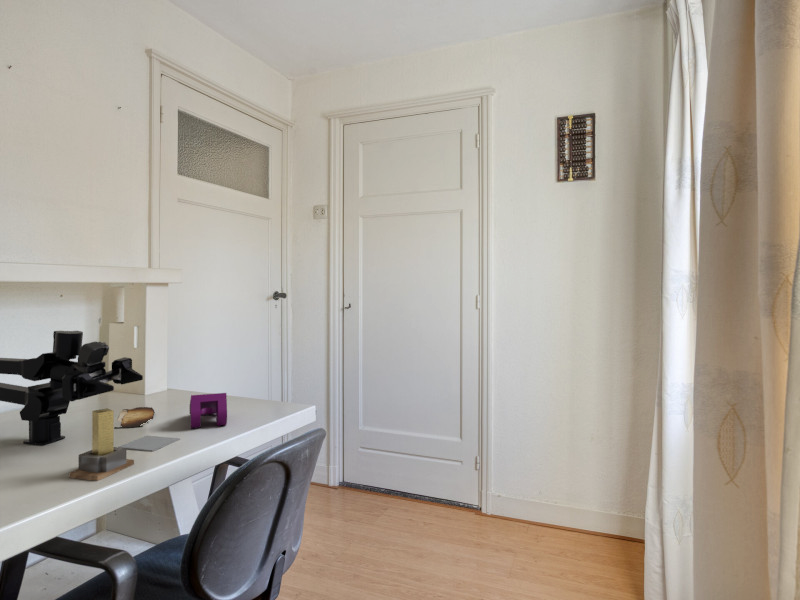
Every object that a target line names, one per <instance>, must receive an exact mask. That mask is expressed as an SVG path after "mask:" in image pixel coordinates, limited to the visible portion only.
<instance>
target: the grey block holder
mask: <svg viewBox="0 0 800 600" xmlns="http://www.w3.org/2000/svg"><path fill="white" fill-rule="evenodd" d="M118 447H119V446H118ZM118 447H116V446H113V452H112V453H110V454H107V455H105V456H98V455H92V449H91V450H88V451H86V452H83V453H80V454H78V469H75V470H73V471H71V472H69V473H68V474H69V475H68V476H69V478H70V479H78V480H79V479H80V480H86V481H87V480H89V481H97V482H98V481H101V480H102V479H105V478H107V477H109V476H111V475H114V474H115V473H116V474H117V472H118V473H119V471H123V470H125V469H126V468H128V467H131V466H133V465H135V459H132V458H131V459H130V458H127V449H123V448H118Z"/></svg>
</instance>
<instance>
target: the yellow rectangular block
mask: <svg viewBox="0 0 800 600" xmlns="http://www.w3.org/2000/svg"><path fill="white" fill-rule="evenodd" d="M91 414H92V415H91V416H92V417H91V419H92V420H91V422H92V423H91V425H92V426H91V427H92V430H91V433H92V435H91V436H92V438H91V441H92V442H91V443H92V444H91V446H92V447H91V450H92V455H98V456H105V455H107V454H110V453H112V452H113V447H114V432H115V431H114V429H115V428H114V425H115V424H114V417H115V416H114V410H113V409H110V408H101V409H96V410H92V413H91Z"/></svg>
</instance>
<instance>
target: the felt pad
mask: <svg viewBox="0 0 800 600" xmlns="http://www.w3.org/2000/svg"><path fill="white" fill-rule="evenodd" d="M180 440H181V438H178V437H169V436H157V435H144V436H142V437H140V438H137V439H134V440H132V441H129V442H127V443H125V444H121V445H119V446H118V448H123V449H125V450H132V451H133V450H135V451H142V450H143V451H144V452H152V451H153V452H155V451H158V450H160V449H163V448H164V447H167V446H169V445H171V444H173V443H175V442H178V441H180ZM159 448H160V449H159ZM157 449H158V450H157ZM143 451H142V452H143Z"/></svg>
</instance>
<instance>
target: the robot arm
mask: <svg viewBox="0 0 800 600" xmlns="http://www.w3.org/2000/svg"><path fill="white" fill-rule="evenodd" d="M52 335H53V344H52V346H53V347H52V352H45V353H42V354H40V355H39V356H37V357H33V358H16V357H15V358H14V357H0V375H1V374H2V375H16V376H17V375H18V376H21V377H22V379H25V380H28V381H32V382H38V381H43V380H49V379H50V380H49V382H45V383H41V384H40V383H39V384H35V385H30V386H22V385H17V384H11V383H4V382H0V402H5V403H10V404H15V405H16V404H17V405H21V406H23V408H22V409H21V410H20V411H19V415H20V419H21V421H25V422H26V421H27V422H28V439H24V440H23V441H22V442H23V444H26V445H27V444H29V445H38V446H45V445H48V444H50V443H53V442H57V441H61V440H64V439H65V438H66V435H61V434H62V431H61V430H62V426H61V425H62V423H61V416H60V415H65V414H67V411H68V410H69V409H68V408H69V406H70V402H75V401H77V400H78V401H79V400H83V399H84V400H85V399H87V398H90V397H94V396H97V395H102V394H105V393H108V392H112V391H114V390H115V387H114V385H113V384H110V383H108V382H111V381H112V382H113V383H114V384H116V385H122V386H123V385H126V384H130V383H136V382H139V381H142V380H143V379H144V378H143V377H144V376H143V374H141V373H139V372H138V371H136V370H134V368H133V359H132V358H131V357H126V356H125V357H121V358H118V359H115V360H113V361H112V362H111V370H108V371H107V370H106V369H105V368H106V361H103V359H104V357H105V356H107V355H108V353H109V350H110V346H109V345H108V344H107V343H106V342H101V341H98V342H97V341H92V342H88V343H84V344H83V337H84V332H83V331H81V330H71V331H70V330H54V331H53V334H52ZM75 359H77V361H74V360H75Z"/></svg>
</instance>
